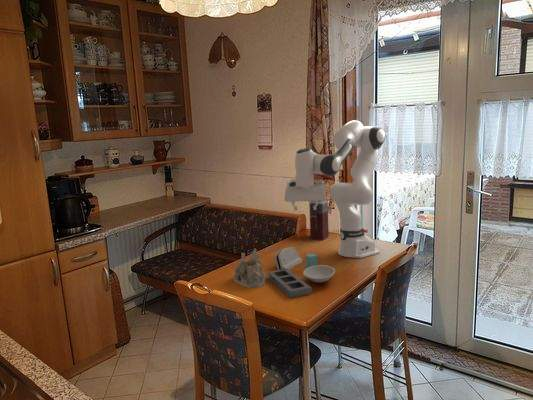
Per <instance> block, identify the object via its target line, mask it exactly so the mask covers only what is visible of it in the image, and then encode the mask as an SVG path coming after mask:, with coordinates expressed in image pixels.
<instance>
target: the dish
mask: <svg viewBox="0 0 533 400" xmlns="http://www.w3.org/2000/svg"><path fill="white" fill-rule="evenodd" d="M302 274H303V276H304V277H306V278H307V279H308V280H309V281H311V282H314V283H324V282H326V281H328V280H330V279H331V278H332V277H333V276H334V275H335V274H336V269H335V268H334V267H332V266H329V265H325V264H318V265H315V266H311V267H308V268H306V267H305V269H304V270H303V272H302Z"/></svg>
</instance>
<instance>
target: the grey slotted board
mask: <svg viewBox="0 0 533 400" xmlns="http://www.w3.org/2000/svg"><path fill="white" fill-rule="evenodd" d="M267 279H269V280H270V281H271V282H272V283H273V284H274V285H275V286H276V287H277V288H278V289H279V290H280V291H281V292H283V293H284V294H285V295H286V296H287V297H288V298H289V299H294V298H299V297H304V296H307V295H312V286H311V285H309V284H308V283H306V282H305V281H304V280H303V279H301V278H300V277H299V276H297V275H296V274H294V273H293V272H292V271H291V270H290V269H289V270H288V269H280V270H278V269H277V270H273V271H268V272H267Z"/></svg>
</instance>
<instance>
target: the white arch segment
mask: <svg viewBox="0 0 533 400" xmlns="http://www.w3.org/2000/svg"><path fill="white" fill-rule="evenodd" d="M274 261H275V263H276V264H275V265H276V269H277V270H282V269H288V270H289V271H290V270H291V269H292V268H294V267H295V265H296V266H298V265H299V264H301V263H302V262H303V259H302V258H301V257H300V256H299V254H298V251H297V249H296V247H293V246H292V247H286V248H282V249H281V250H279V251H277V253H276V254H275V256H274ZM297 264H298V265H297ZM290 268H291V269H290Z"/></svg>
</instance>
